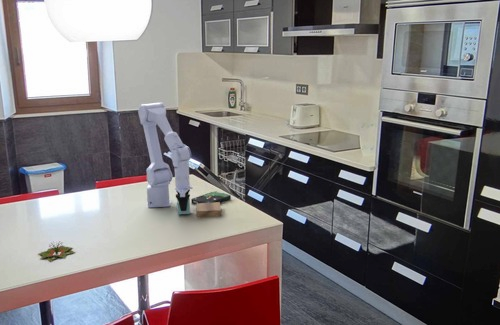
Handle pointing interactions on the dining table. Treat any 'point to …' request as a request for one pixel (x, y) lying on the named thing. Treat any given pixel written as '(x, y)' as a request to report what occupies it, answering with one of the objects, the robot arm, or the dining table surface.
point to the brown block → (208, 209)
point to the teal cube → (184, 211)
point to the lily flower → (51, 251)
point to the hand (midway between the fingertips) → (183, 208)
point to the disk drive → (211, 198)
